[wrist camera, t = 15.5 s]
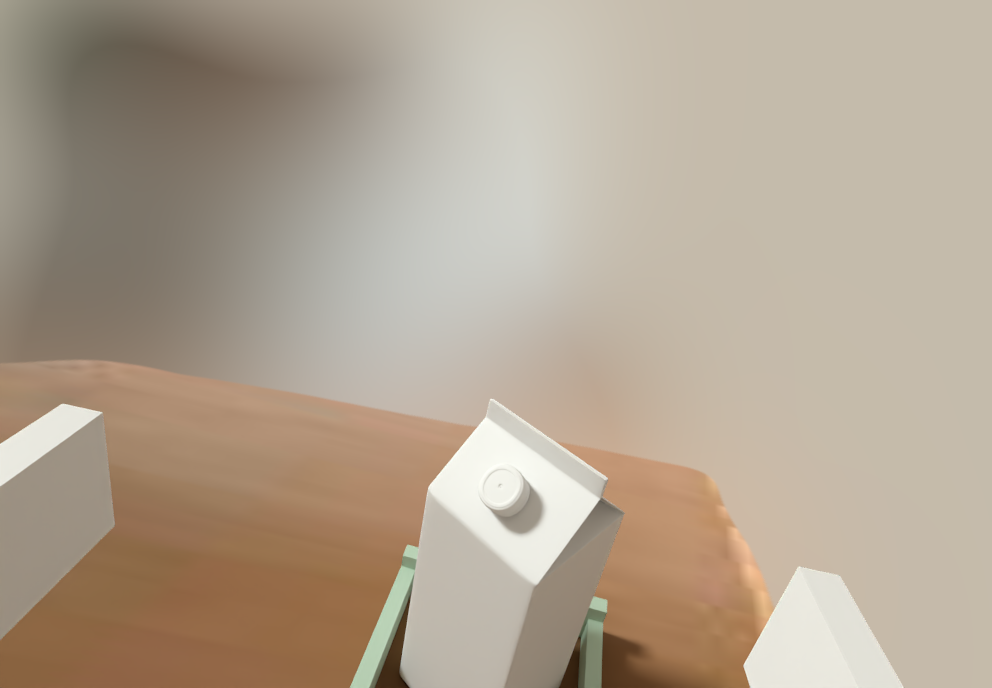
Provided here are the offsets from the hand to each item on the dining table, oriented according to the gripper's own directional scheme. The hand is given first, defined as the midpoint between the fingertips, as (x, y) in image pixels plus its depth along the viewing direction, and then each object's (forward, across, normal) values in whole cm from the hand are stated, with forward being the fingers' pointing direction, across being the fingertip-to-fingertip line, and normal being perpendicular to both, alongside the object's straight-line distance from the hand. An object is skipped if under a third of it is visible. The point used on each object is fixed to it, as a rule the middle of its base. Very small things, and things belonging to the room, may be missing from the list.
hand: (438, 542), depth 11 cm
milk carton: (+16, +4, -26) cm, 30 cm away
